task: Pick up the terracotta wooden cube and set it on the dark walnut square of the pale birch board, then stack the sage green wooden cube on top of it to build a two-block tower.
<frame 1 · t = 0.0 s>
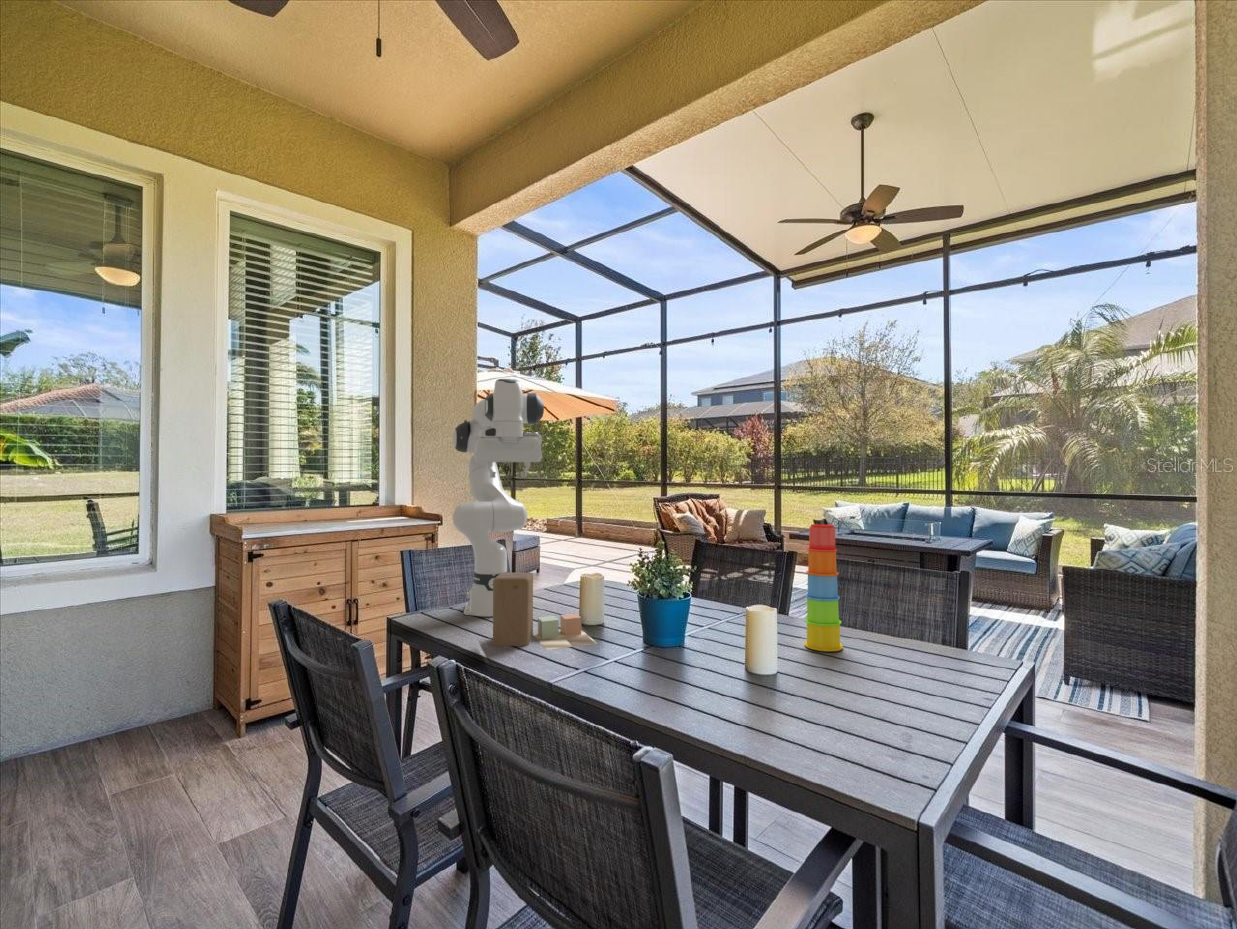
hand: (508, 477, 177), 48 cm above the table, tool pointing down, fingers open, 8 cm apart
wooden block: (513, 645, 168), on the table
terracotta block: (570, 632, 176), point 1 cm above the table, touching birch base board
sage block: (548, 635, 173), point 1 cm above the table, touching birch base board
birch base board: (563, 642, 170), on the table
stacking cups: (823, 648, 165), on the table
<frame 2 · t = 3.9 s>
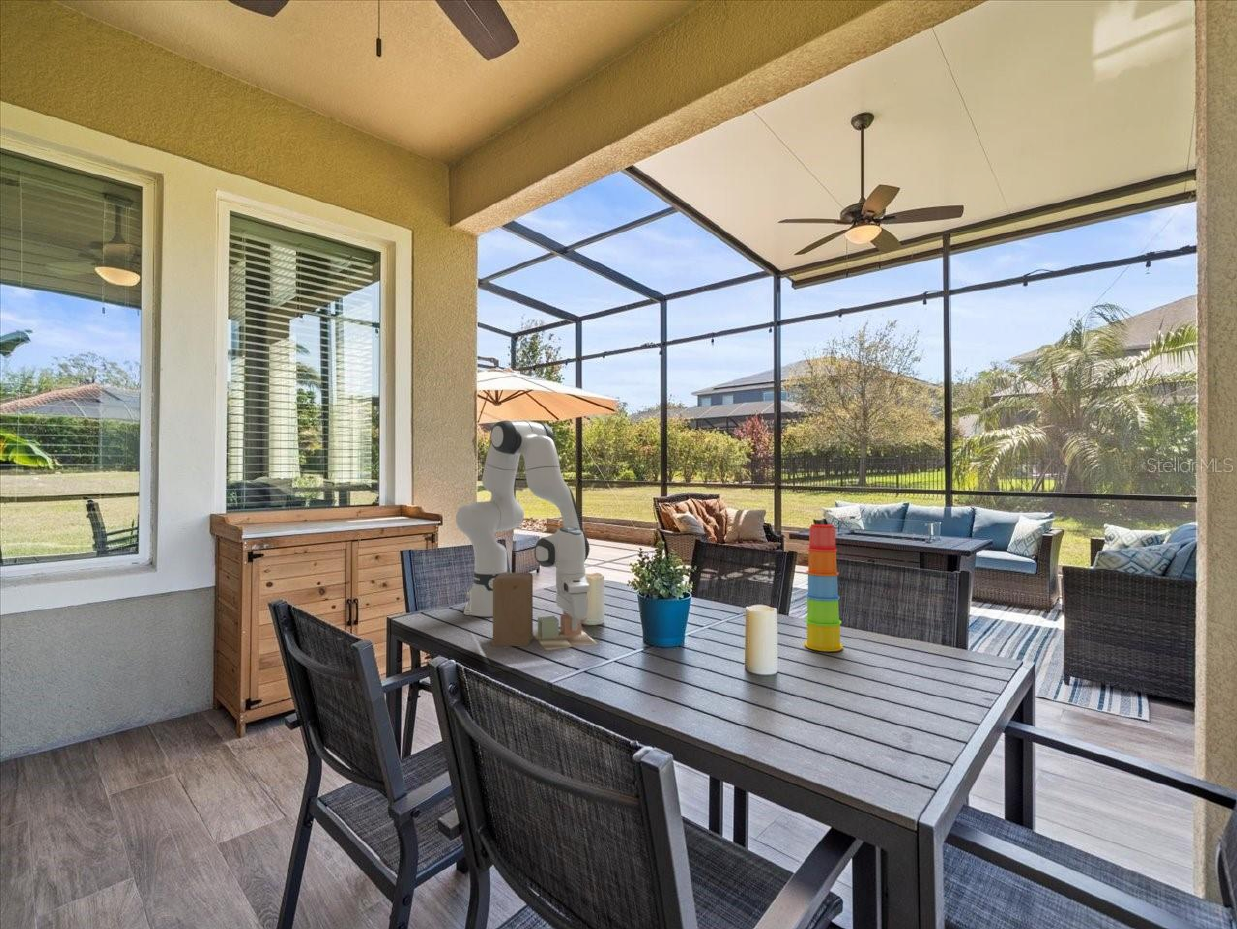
hand: (570, 627, 175), 3 cm above the table, tool pointing down, fingers closed on terracotta block, 5 cm apart
terracotta block: (570, 632, 176), point 1 cm above the table, touching birch base board, gripper
everything else where it was.
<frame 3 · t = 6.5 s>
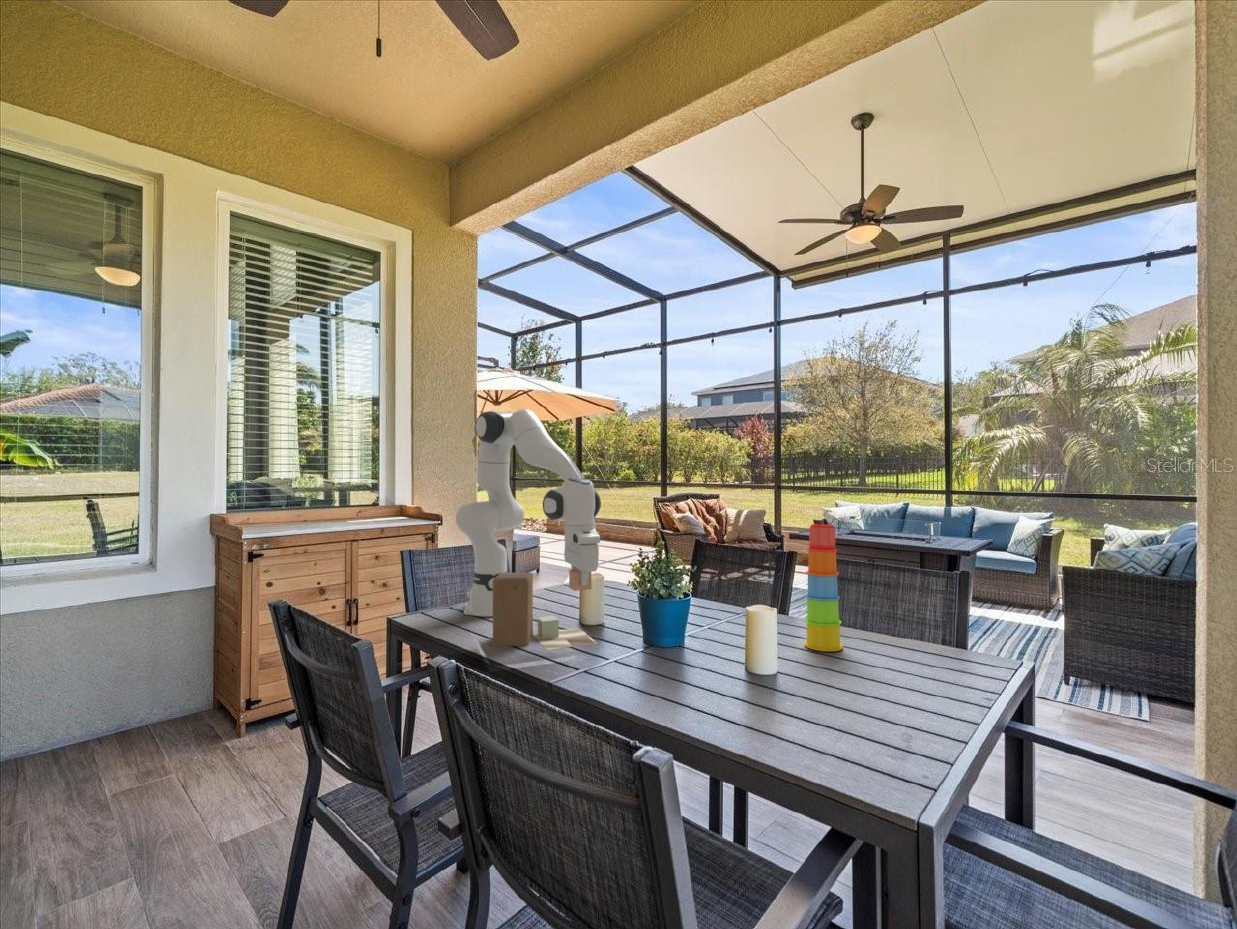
hand: (580, 582, 167), 18 cm above the table, tool pointing down, fingers closed on terracotta block, 5 cm apart
terracotta block: (580, 588, 167), point 16 cm above the table, touching gripper
everything else where it was.
when the fingers open (4 cm above the table, at t = 9.2 s): terracotta block drops 1 cm, resting on birch base board.
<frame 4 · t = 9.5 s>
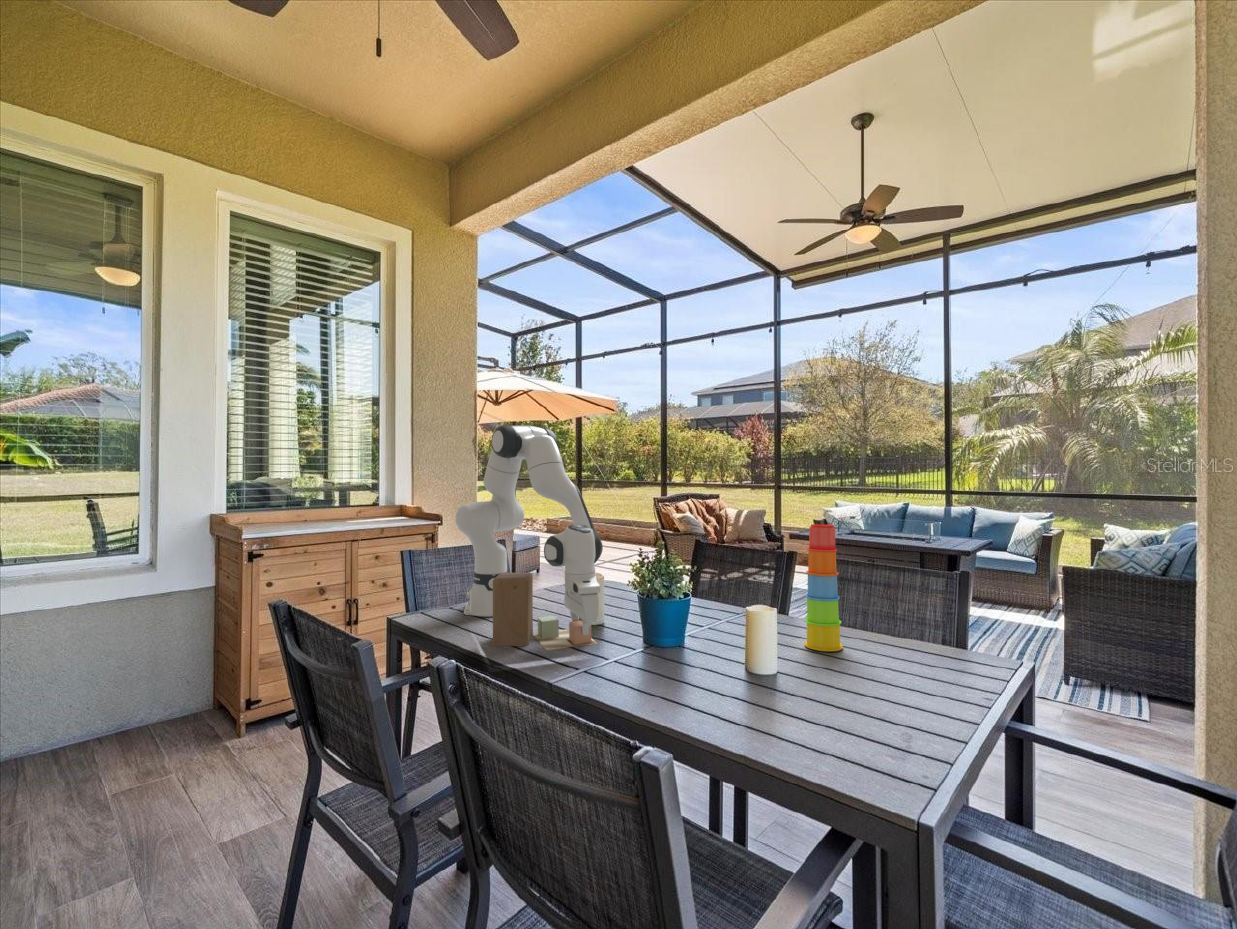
hand: (580, 630, 167), 4 cm above the table, tool pointing down, fingers open, 7 cm apart
terracotta block: (580, 640, 167), point 1 cm above the table, touching birch base board
everything else where it was.
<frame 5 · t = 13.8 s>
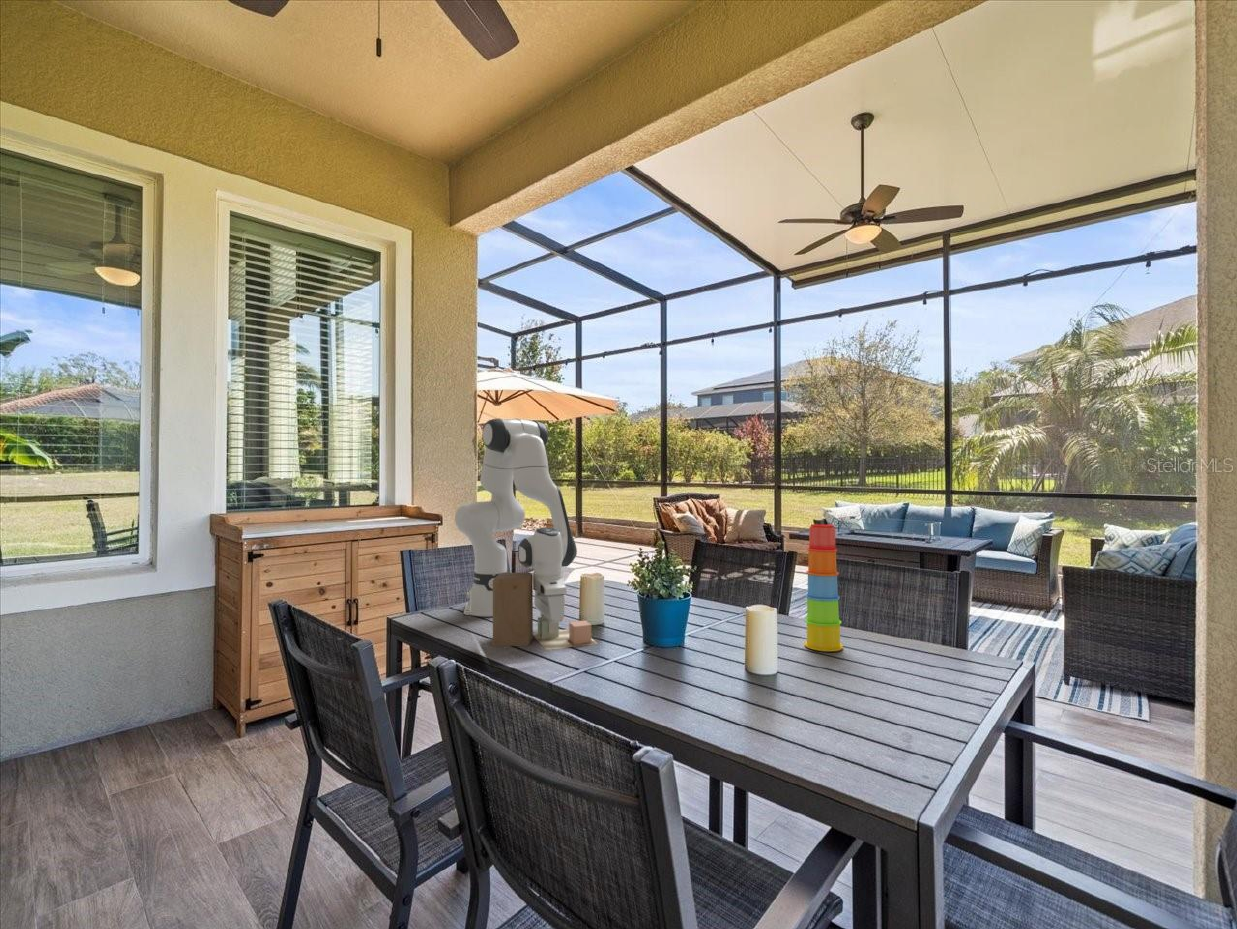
hand: (548, 630, 173), 3 cm above the table, tool pointing down, fingers closed on sage block, 5 cm apart
sage block: (548, 635, 173), point 1 cm above the table, touching birch base board, gripper
everything else where it was.
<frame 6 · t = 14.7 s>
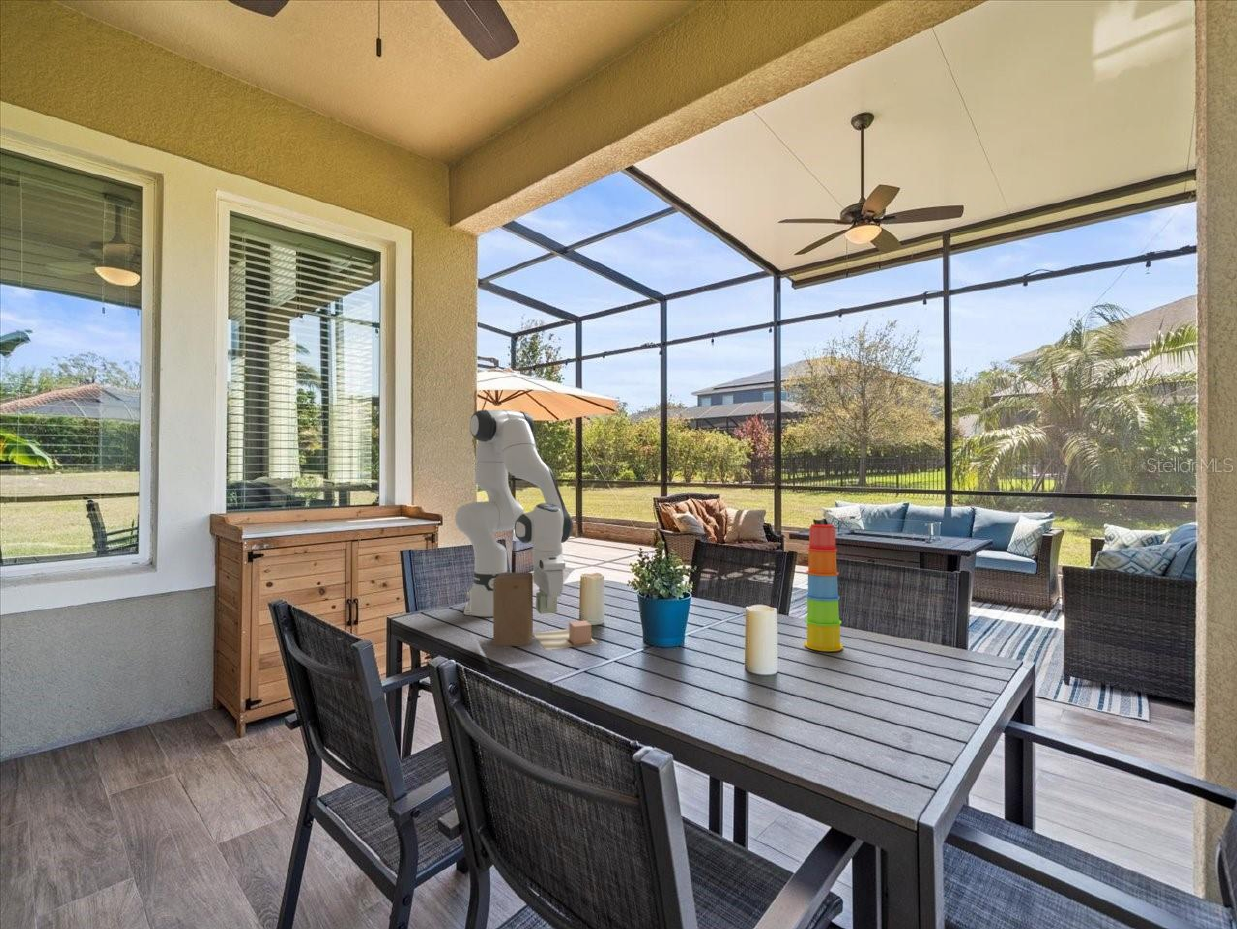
hand: (546, 605, 173), 10 cm above the table, tool pointing down, fingers closed on sage block, 5 cm apart
sage block: (546, 610, 173), point 8 cm above the table, touching gripper
everything else where it was.
when the fingers open (9 cm above the table, at t = 19.5 s): sage block stays where it is, resting on terracotta block.
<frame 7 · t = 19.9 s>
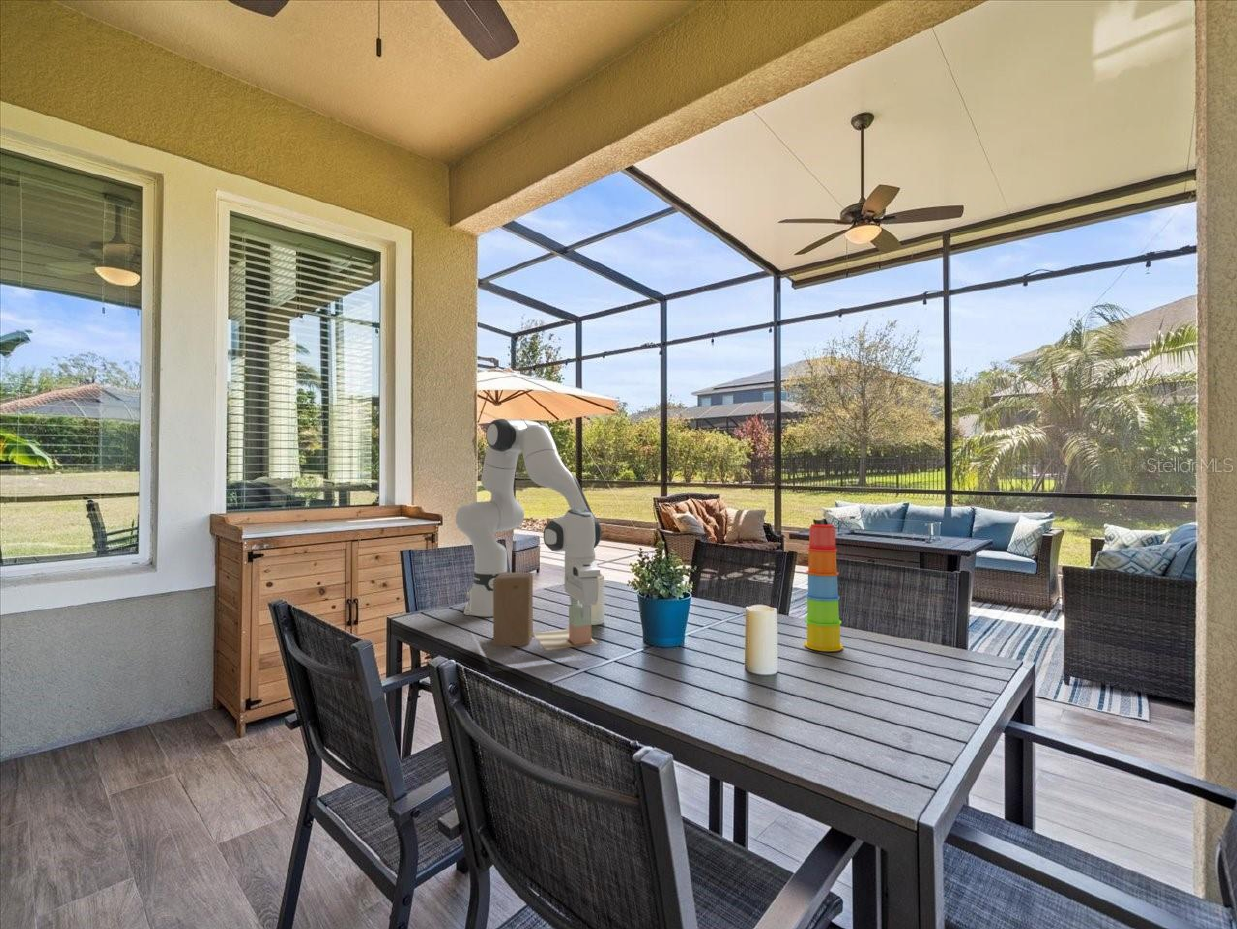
hand: (580, 614, 167), 9 cm above the table, tool pointing down, fingers open, 8 cm apart
terracotta block: (580, 640, 167), point 1 cm above the table, touching birch base board, sage block
sage block: (580, 623, 167), point 6 cm above the table, touching terracotta block
everything else where it was.
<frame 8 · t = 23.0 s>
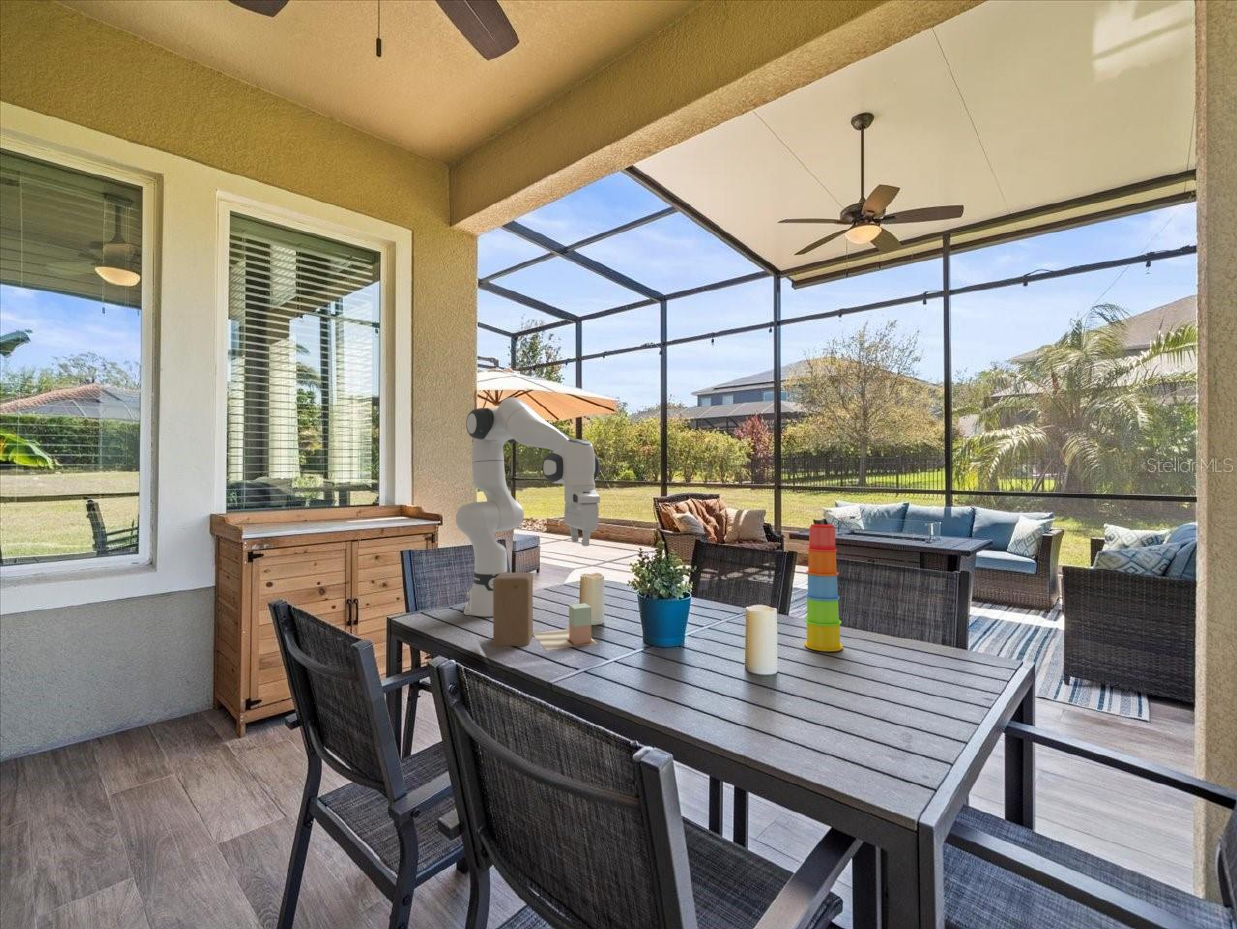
hand: (580, 543, 167), 29 cm above the table, tool pointing down, fingers open, 8 cm apart
nothing on the table moved.
at the end: terracotta block 0.1 cm from the target spot, point 1.3 cm above the table; sage block 0.0 cm off-centre on the terracotta block, point 5.0 cm above the terracotta block's base; sage block tilted 0° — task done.
